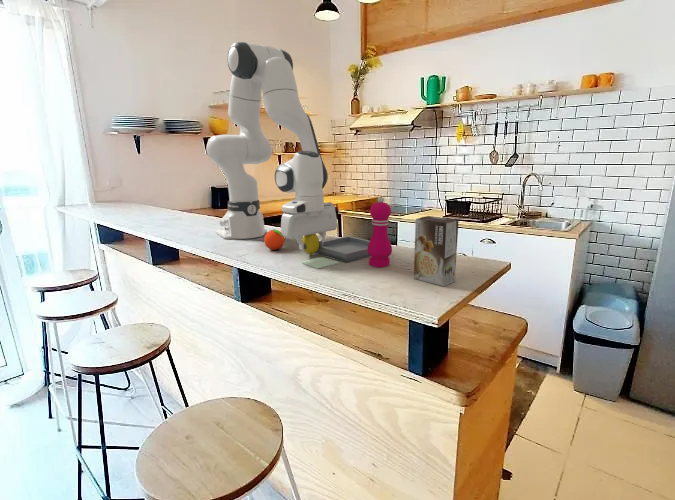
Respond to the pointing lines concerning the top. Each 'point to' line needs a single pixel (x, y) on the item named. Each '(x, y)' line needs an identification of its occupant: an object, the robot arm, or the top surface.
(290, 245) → the top surface
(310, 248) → the lemon
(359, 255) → the slate tray
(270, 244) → the clementine
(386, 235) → the pepper mill
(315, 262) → the green mat
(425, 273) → the coffee box
